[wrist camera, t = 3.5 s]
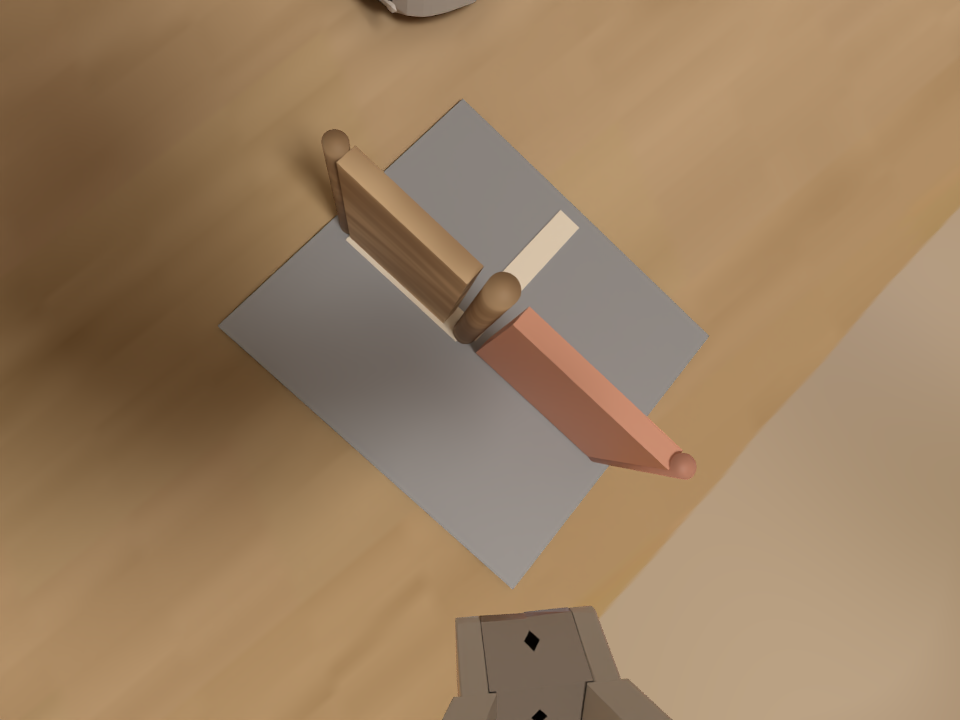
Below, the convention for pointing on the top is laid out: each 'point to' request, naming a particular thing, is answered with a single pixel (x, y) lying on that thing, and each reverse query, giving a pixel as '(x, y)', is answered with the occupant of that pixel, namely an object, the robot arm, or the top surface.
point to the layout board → (455, 366)
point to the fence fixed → (412, 242)
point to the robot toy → (424, 6)
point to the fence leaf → (580, 399)
